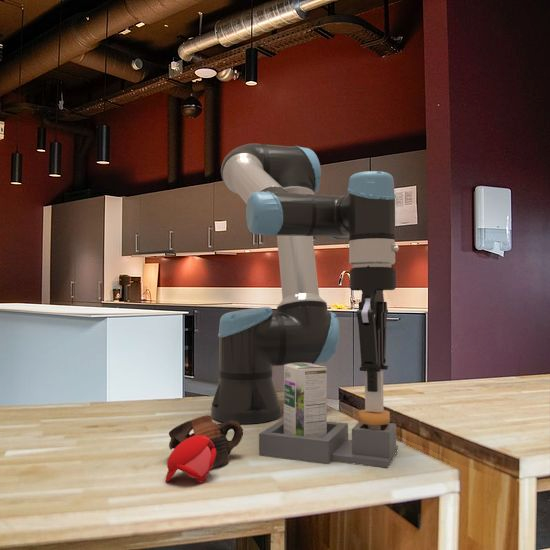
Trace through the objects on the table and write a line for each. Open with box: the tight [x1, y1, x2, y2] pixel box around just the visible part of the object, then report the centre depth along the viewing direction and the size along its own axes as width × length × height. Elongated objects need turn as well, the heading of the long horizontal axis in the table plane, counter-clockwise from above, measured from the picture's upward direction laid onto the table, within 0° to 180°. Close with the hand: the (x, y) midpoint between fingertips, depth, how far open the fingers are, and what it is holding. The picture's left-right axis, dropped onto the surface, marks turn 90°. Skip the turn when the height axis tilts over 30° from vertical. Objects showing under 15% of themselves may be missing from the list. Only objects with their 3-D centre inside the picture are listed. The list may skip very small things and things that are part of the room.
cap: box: [165, 435, 216, 483], centre depth 77 cm, size 8×6×6 cm
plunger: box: [358, 408, 391, 430], centre depth 86 cm, size 5×5×6 cm
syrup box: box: [283, 363, 328, 438], centre depth 91 cm, size 6×6×14 cm
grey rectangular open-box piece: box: [258, 418, 399, 468], centre depth 89 cm, size 21×12×5 cm, turn 67°
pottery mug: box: [168, 414, 244, 469], centre depth 85 cm, size 12×10×8 cm
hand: (374, 410), depth 86 cm, fingers closed
